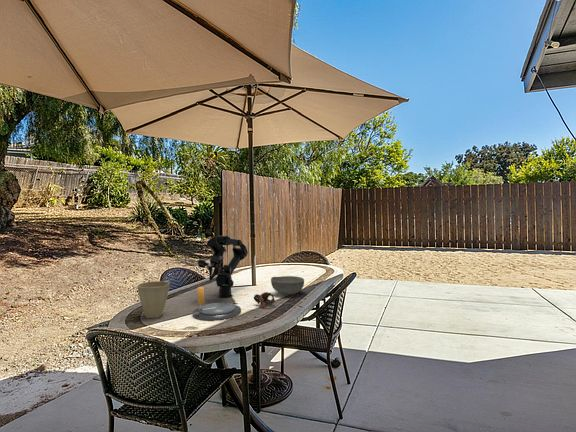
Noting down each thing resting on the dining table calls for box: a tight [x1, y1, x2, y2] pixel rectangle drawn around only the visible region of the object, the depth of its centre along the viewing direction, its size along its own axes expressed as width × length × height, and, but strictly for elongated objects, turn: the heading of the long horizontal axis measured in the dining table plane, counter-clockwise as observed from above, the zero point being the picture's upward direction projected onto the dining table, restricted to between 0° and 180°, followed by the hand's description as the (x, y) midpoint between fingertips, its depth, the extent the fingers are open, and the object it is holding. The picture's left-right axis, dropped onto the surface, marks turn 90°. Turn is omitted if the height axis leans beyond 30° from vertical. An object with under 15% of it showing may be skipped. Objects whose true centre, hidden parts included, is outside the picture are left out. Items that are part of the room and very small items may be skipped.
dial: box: [196, 286, 235, 316], centre depth 178 cm, size 19×18×12 cm
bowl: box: [270, 275, 305, 296], centre depth 214 cm, size 20×20×10 cm
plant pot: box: [136, 280, 170, 319], centre depth 175 cm, size 15×15×16 cm
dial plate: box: [192, 304, 242, 322], centre depth 178 cm, size 24×24×2 cm
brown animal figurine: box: [253, 291, 276, 309], centre depth 190 cm, size 12×10×8 cm
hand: (210, 280), depth 195 cm, fingers closed
